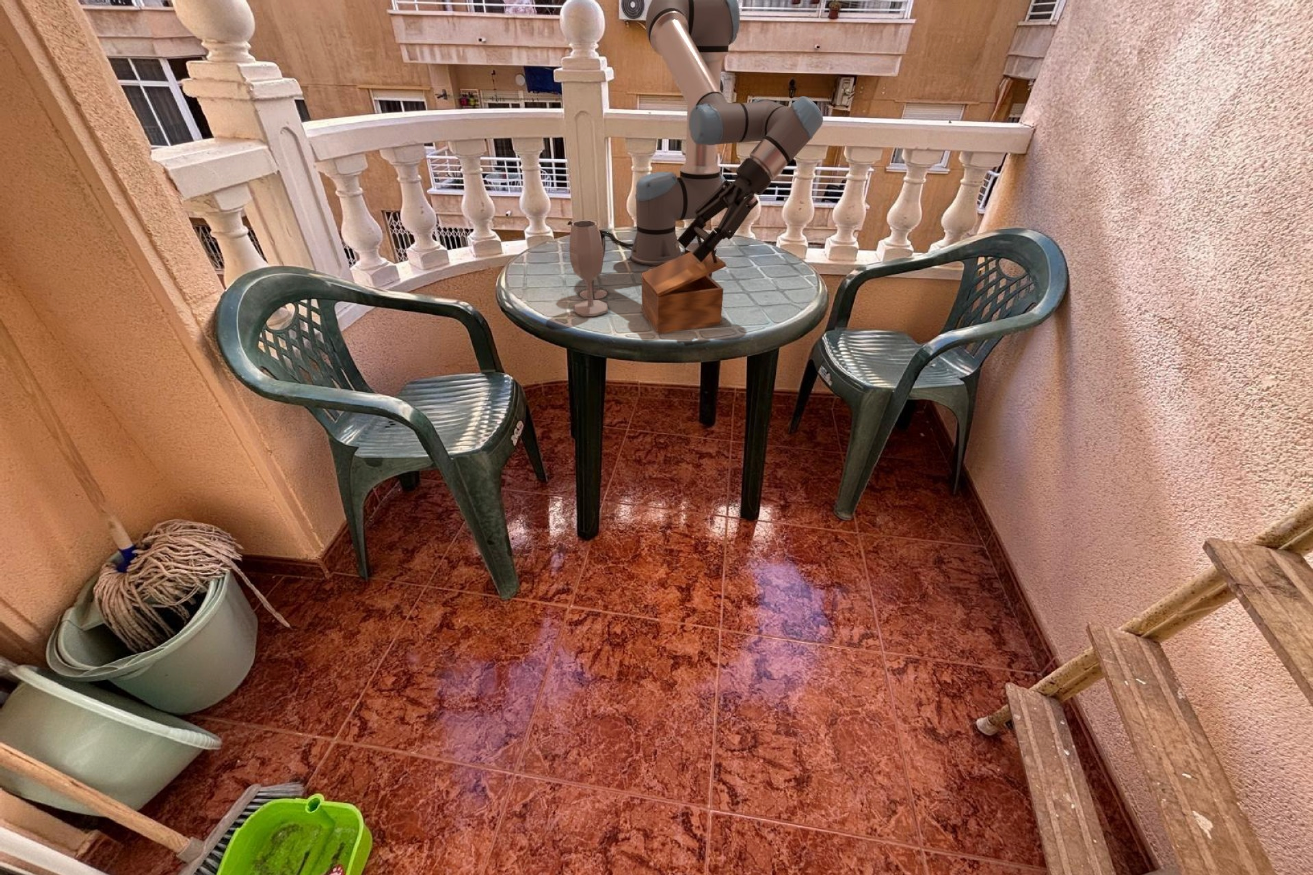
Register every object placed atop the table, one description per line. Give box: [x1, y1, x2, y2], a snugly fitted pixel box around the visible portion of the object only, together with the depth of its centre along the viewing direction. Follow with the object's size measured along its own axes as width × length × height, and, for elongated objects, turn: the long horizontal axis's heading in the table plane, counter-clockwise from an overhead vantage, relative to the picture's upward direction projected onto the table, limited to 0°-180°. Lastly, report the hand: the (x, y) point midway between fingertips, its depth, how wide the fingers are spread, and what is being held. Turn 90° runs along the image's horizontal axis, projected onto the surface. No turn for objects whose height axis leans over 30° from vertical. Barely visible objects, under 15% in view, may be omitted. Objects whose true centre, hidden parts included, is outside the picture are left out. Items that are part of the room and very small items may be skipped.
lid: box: [641, 225, 727, 297], centre depth 121 cm, size 17×13×7 cm
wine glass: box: [579, 233, 608, 300], centre depth 137 cm, size 8×8×15 cm
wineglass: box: [568, 219, 609, 317], centre depth 127 cm, size 9×9×21 cm
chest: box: [641, 275, 724, 335], centre depth 127 cm, size 16×13×9 cm
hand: (688, 251), depth 120 cm, fingers closed on lid, 9 cm apart
